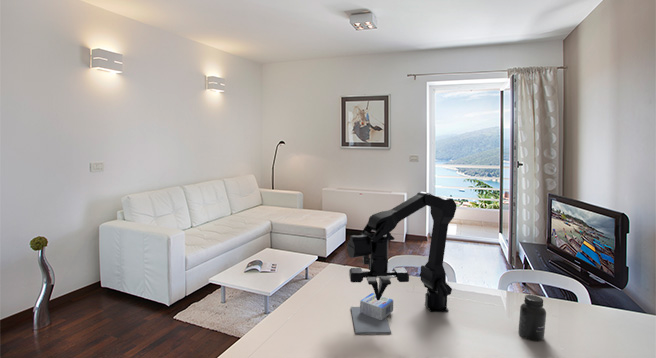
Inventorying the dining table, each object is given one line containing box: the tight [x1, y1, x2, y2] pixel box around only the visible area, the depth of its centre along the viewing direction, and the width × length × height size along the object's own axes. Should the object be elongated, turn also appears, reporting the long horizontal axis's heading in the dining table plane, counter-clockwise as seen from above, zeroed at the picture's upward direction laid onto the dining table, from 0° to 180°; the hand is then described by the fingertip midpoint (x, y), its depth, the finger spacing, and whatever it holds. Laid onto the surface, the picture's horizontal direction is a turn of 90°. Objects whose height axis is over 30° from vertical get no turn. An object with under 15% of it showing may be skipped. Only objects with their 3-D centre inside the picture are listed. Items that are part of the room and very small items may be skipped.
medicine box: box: [359, 292, 394, 320], centre depth 118 cm, size 8×4×9 cm
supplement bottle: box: [518, 294, 547, 342], centre depth 105 cm, size 7×7×12 cm
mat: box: [350, 306, 392, 335], centre depth 114 cm, size 11×16×1 cm
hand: (378, 299), depth 113 cm, fingers closed
